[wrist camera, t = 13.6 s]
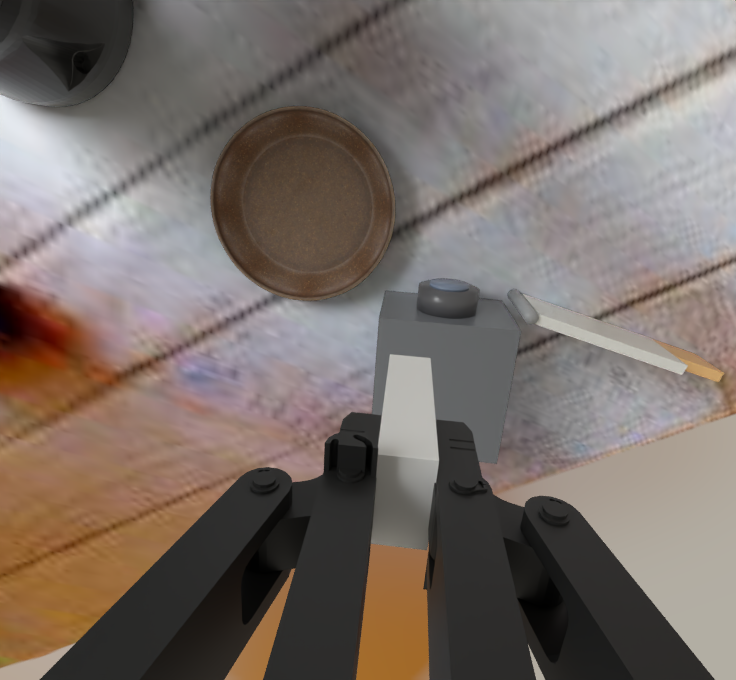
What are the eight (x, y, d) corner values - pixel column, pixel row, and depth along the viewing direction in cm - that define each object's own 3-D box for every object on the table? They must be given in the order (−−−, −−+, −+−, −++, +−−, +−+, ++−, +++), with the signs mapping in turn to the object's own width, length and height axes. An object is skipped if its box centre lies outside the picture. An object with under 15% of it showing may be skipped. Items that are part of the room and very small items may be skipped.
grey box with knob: (387, 266, 41) (380, 291, 33) (505, 276, 40) (528, 304, 32) (376, 406, 46) (368, 458, 38) (482, 416, 45) (497, 472, 37)
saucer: (271, 317, 44) (262, 326, 41) (190, 157, 40) (175, 157, 37) (423, 255, 41) (423, 261, 38) (352, 75, 37) (348, 69, 34)
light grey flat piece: (505, 298, 41) (522, 322, 35) (510, 287, 41) (528, 309, 34) (685, 360, 41) (733, 394, 35) (692, 350, 41) (741, 383, 35)
